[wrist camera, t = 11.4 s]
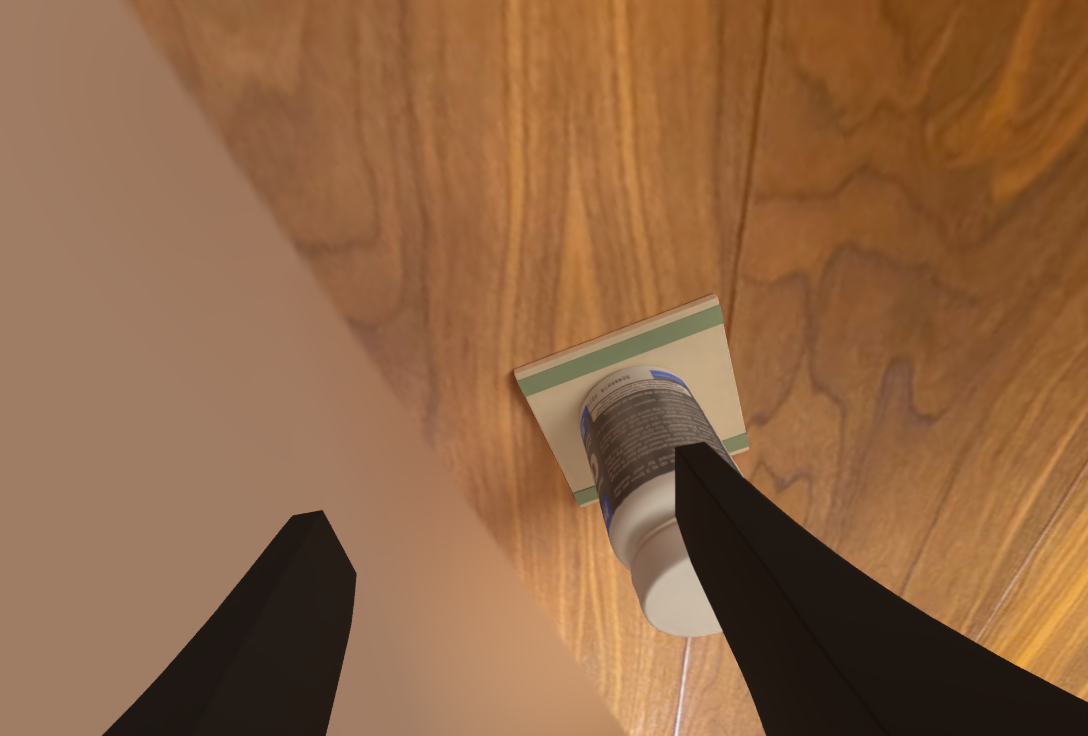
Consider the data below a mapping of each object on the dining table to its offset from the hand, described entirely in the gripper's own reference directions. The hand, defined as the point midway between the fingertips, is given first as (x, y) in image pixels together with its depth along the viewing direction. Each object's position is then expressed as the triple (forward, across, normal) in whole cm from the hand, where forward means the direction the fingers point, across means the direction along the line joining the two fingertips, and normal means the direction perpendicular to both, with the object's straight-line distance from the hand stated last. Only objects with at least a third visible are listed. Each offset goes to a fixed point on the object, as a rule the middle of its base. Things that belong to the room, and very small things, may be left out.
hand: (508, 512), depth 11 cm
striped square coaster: (+9, -5, +6) cm, 12 cm away
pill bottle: (+9, -5, +5) cm, 12 cm away
